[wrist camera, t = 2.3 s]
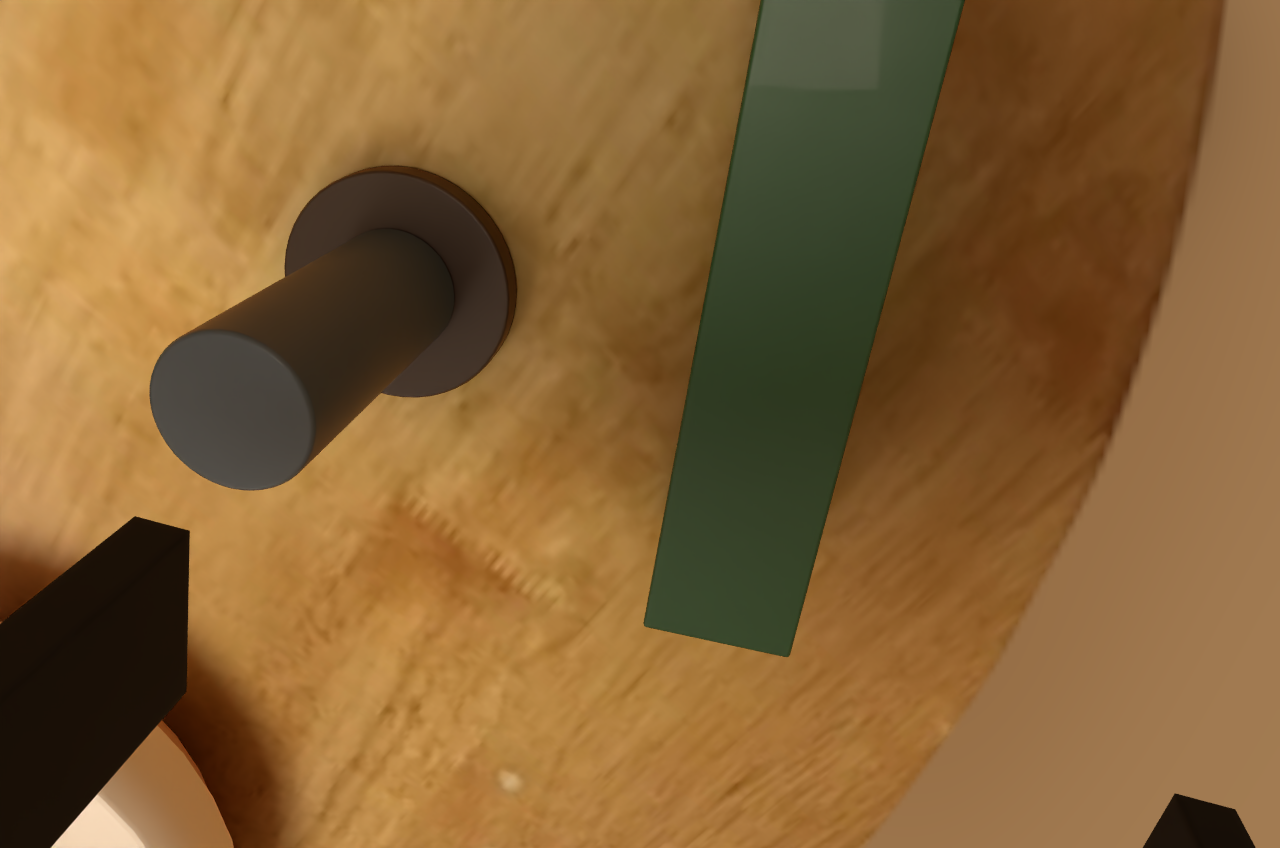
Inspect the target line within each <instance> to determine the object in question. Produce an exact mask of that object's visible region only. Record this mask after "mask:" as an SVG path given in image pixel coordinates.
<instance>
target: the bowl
mask: <svg viewBox="0 0 1280 848" xmlns="http://www.w3.org/2000/svg"><path fill="white" fill-rule="evenodd" d="M1 623H2V621H0V624H1ZM51 848H234V846H233V841H232V838H231V836H230V834H229V832H228V829H227V827H226V825H225V823H224V820H223V818H222V816H221V814H220V811H219V809H218V807H217V805H216V802H215V800H214V798H213V796H212V795H211V793H210V792H209V790H208V788H207V786H206V783H205V781H204V779H203V777H202V774H201V772H200V770H199V769H198V767H197V766H196V764H195V763H194V761H193V760H192V758H191V757H190V755H189V754H188V752H187V751H186V749H185V748H184V746H183V745H182V743H181V742H180V741H179V739H178V738H177V736H176V735H175V734H174V733H173V731H172V730H171V729H170V728H169V727H168V726H167V725H166V724H165V723H164V722H163V721H162V720H161V722H160V723H159V724H158V725H157V726H156V727H155V728H154V730H153V731H152V732H151V733H150V734H149V735H148V737H147V738H146V739H145V740H144V741H143V742H142V743H141V745H140V746H139V747H138V748H137V749H136V750H135V751H134V753H133V754H132V755H131V756H130V757H129V758H128V760H127V761H126V762H125V763H124V764H123V765H122V766H121V768H120V769H119V770H118V771H117V772H116V773H115V775H114V776H113V777H112V778H111V779H110V780H109V781H108V783H107V784H106V785H105V786H104V787H103V788H102V789H101V791H100V792H99V793H98V794H97V795H96V796H95V798H94V799H93V800H92V801H91V802H90V803H89V804H88V806H87V807H86V808H85V809H84V810H83V811H82V812H81V814H80V815H79V816H78V817H77V818H76V819H75V821H74V822H73V823H72V824H71V825H70V826H69V827H68V829H67V830H66V831H65V832H64V833H63V834H62V836H61V837H60V838H59V839H58V840H57V841H56V842H55V844H54V845H53V846H52V847H51Z"/></svg>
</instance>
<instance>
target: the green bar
mask: <svg viewBox="0 0 1280 848" xmlns="http://www.w3.org/2000/svg"><path fill="white" fill-rule="evenodd" d="M964 2H965V0H761V2H760V7H759V12H758V18H757V23H756V28H755V34H754V39H753V44H752V49H751V55H750V60H749V65H748V71H747V76H746V81H745V87H744V92H743V97H742V103H741V108H740V113H739V119H738V124H737V129H736V134H735V140H734V145H733V150H732V156H731V161H730V166H729V172H728V177H727V182H726V188H725V193H724V198H723V204H722V209H721V214H720V219H719V225H718V230H717V235H716V241H715V246H714V251H713V257H712V262H711V267H710V273H709V278H708V283H707V289H706V294H705V299H704V304H703V310H702V315H701V320H700V326H699V331H698V336H697V342H696V347H695V352H694V358H693V363H692V368H691V374H690V379H689V384H688V389H687V395H686V400H685V405H684V411H683V416H682V421H681V427H680V432H679V437H678V443H677V448H676V453H675V459H674V464H673V469H672V474H671V480H670V485H669V490H668V496H667V501H666V506H665V512H664V517H663V522H662V528H661V533H660V538H659V544H658V549H657V554H656V559H655V565H654V570H653V575H652V581H651V586H650V591H649V597H648V602H647V607H646V613H645V618H644V626H645V627H649V628H653V629H658V630H663V631H667V632H672V633H677V634H681V635H686V636H690V637H695V638H700V639H704V640H709V641H714V642H718V643H723V644H728V645H732V646H737V647H742V648H746V649H751V650H755V651H760V652H765V653H769V654H774V655H779V656H783V657H788V656H789V655H790V653H791V649H792V645H793V641H794V638H795V634H796V630H797V626H798V623H799V619H800V615H801V611H802V608H803V604H804V600H805V596H806V593H807V589H808V585H809V582H810V578H811V574H812V570H813V567H814V563H815V559H816V555H817V552H818V548H819V544H820V540H821V537H822V533H823V529H824V525H825V522H826V518H827V514H828V510H829V507H830V503H831V499H832V496H833V492H834V488H835V484H836V481H837V477H838V473H839V469H840V466H841V462H842V458H843V454H844V451H845V447H846V443H847V439H848V436H849V432H850V428H851V424H852V421H853V417H854V413H855V409H856V406H857V402H858V398H859V395H860V391H861V387H862V383H863V380H864V376H865V372H866V368H867V365H868V361H869V357H870V353H871V350H872V346H873V342H874V338H875V335H876V331H877V327H878V323H879V320H880V316H881V312H882V309H883V305H884V301H885V297H886V294H887V290H888V286H889V282H890V279H891V275H892V271H893V267H894V264H895V260H896V256H897V252H898V249H899V245H900V241H901V237H902V234H903V230H904V226H905V223H906V219H907V215H908V211H909V208H910V204H911V200H912V196H913V193H914V189H915V185H916V181H917V178H918V174H919V170H920V166H921V163H922V159H923V155H924V151H925V148H926V144H927V140H928V137H929V133H930V129H931V125H932V122H933V118H934V114H935V110H936V107H937V103H938V99H939V95H940V92H941V88H942V84H943V80H944V77H945V73H946V69H947V65H948V62H949V58H950V54H951V51H952V47H953V43H954V39H955V36H956V32H957V28H958V24H959V21H960V17H961V13H962V9H963V6H964Z"/></svg>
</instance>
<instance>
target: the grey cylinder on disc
mask: <svg viewBox="0 0 1280 848" xmlns="http://www.w3.org/2000/svg"><path fill="white" fill-rule="evenodd" d="M515 306H516V280H515V273H514V268H513V263H512V260H511V257H510V254H509V251H508V248H507V246H506V244H505V242H504V240H503V237H502V235H501V233H500V232H499V230H498V229H497V227H496V225H495V224H494V222H493V221H492V219H491V218H490V217H489V216H488V214H487V213H486V212H485V211H484V210H483V208H482V207H481V206H480V205H479V204H478V203H477V202H476V201H475V200H473V199H472V198H471V197H470V196H469V195H468V194H466V193H465V192H464V191H462V190H461V189H460V188H458V187H457V186H455V185H454V184H452V183H450V182H449V181H447V180H445V179H443V178H441V177H439V176H436V175H434V174H431V173H429V172H426V171H422V170H418V169H415V168H409V167H401V166H381V167H374V168H368V169H365V170H361V171H358V172H355V173H352V174H350V175H348V176H345V177H343V178H341V179H339V180H337V181H335V182H333V183H331V184H329V185H328V186H326V187H325V188H324V189H322V190H321V191H319V192H318V193H317V194H316V195H315V196H314V197H313V198H312V199H311V200H310V201H309V202H308V203H307V205H306V206H305V207H304V209H303V210H302V211H301V213H300V214H299V216H298V218H297V220H296V222H295V223H294V226H293V228H292V231H291V234H290V236H289V240H288V244H287V249H286V256H285V278H283V279H281V280H279V281H278V282H276V283H274V284H272V285H271V286H269V287H267V288H265V289H263V290H262V291H260V292H258V293H256V294H255V295H253V296H251V297H249V298H248V299H246V300H244V301H242V302H241V303H239V304H237V305H235V306H234V307H232V308H230V309H228V310H226V311H225V312H223V313H221V314H219V315H218V316H216V317H214V318H212V319H211V320H209V321H207V322H205V323H204V324H202V325H200V326H198V327H197V328H195V329H193V330H191V331H190V332H188V333H186V334H184V335H182V336H181V337H179V338H178V339H176V340H175V341H173V342H172V343H171V344H170V345H169V346H168V347H167V348H166V349H165V350H164V351H163V353H162V354H161V355H160V357H159V359H158V360H157V362H156V364H155V367H154V370H153V373H152V376H151V382H150V404H151V409H152V413H153V417H154V420H155V422H156V425H157V427H158V429H159V431H160V433H161V435H162V437H163V439H164V440H165V442H166V443H167V445H168V446H169V447H170V449H171V450H172V451H173V452H174V454H175V455H176V456H177V457H178V458H179V459H180V460H181V461H182V462H183V463H184V464H186V465H187V466H188V467H189V468H190V469H192V470H193V471H195V472H196V473H198V474H199V475H200V476H202V477H204V478H206V479H208V480H210V481H212V482H214V483H217V484H219V485H222V486H225V487H229V488H233V489H239V490H263V489H268V488H272V487H276V486H278V485H281V484H283V483H285V482H287V481H289V480H290V479H292V478H293V477H294V476H296V475H297V474H298V473H299V472H300V471H301V470H302V469H303V468H304V467H305V466H306V465H307V464H308V463H309V462H310V461H311V460H312V459H314V458H315V457H316V456H317V455H318V454H319V453H320V452H321V451H322V450H323V449H324V448H325V447H326V446H327V445H328V444H329V443H330V442H331V441H332V440H333V439H334V438H335V437H336V436H337V435H338V434H339V433H340V432H341V431H342V430H343V429H344V428H345V427H346V426H347V425H348V424H349V423H350V422H351V421H352V420H353V419H355V418H356V417H357V416H358V415H359V414H360V413H361V412H362V411H363V410H364V409H365V408H366V407H367V406H368V405H369V404H370V403H371V402H372V401H373V400H374V399H375V398H376V397H377V396H378V395H379V394H380V393H384V394H387V395H393V396H399V397H426V396H433V395H437V394H441V393H445V392H447V391H450V390H453V389H455V388H457V387H459V386H461V385H463V384H464V383H466V382H468V381H469V380H471V379H472V378H473V377H474V376H476V375H477V374H478V373H479V372H480V371H481V370H482V369H483V368H484V367H485V366H486V365H487V364H488V363H489V362H490V360H491V359H492V358H493V357H494V356H495V354H496V353H497V351H498V350H499V349H500V347H501V346H502V344H503V342H504V340H505V338H506V336H507V334H508V332H509V329H510V327H511V324H512V321H513V316H514V311H515Z"/></svg>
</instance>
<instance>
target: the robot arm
mask: <svg viewBox="0 0 1280 848" xmlns="http://www.w3.org/2000/svg"><path fill="white" fill-rule="evenodd" d="M189 538H190V531H188V530H184V529H181V528H177V527H173V526H169V525H166V524H162V523H158V522H154V521H151V520H147V519H143V518H139V517H136V516H135V517H133V518H132V519H131V520H130V521H128V522H127V523H126V524H125V525H123V526H122V527H121V528H120V529H118V530H117V531H116V532H115V533H113V534H112V535H111V536H110V537H108V538H107V539H106V540H105V541H103V542H102V543H101V544H100V545H98V546H97V547H96V548H95V549H93V550H92V551H91V552H90V553H88V554H87V555H86V556H85V557H83V558H82V559H81V560H80V561H78V562H77V563H76V564H75V565H73V566H72V567H71V568H70V569H68V570H67V571H66V572H64V573H63V574H62V575H61V576H59V577H58V578H57V579H56V580H54V581H53V582H52V583H51V584H49V585H48V586H47V587H46V588H44V589H43V590H42V591H41V592H39V593H38V594H37V595H36V596H34V597H33V598H32V599H31V600H29V601H28V602H27V603H26V604H24V605H23V606H22V607H21V608H19V609H18V610H17V611H16V612H14V613H13V614H12V615H11V616H9V617H8V618H7V619H6V620H4V621H3V622H2V623H1V624H0V848H51V847H52V846H53V845H54V844H55V842H56V841H57V840H58V839H59V838H60V837H61V836H62V834H63V833H64V832H65V831H66V830H67V829H68V827H69V826H70V825H71V824H72V823H73V822H74V821H75V819H76V818H77V817H78V816H79V815H80V814H81V812H82V811H83V810H84V809H85V808H86V807H87V806H88V804H89V803H90V802H91V801H92V800H93V799H94V798H95V796H96V795H97V794H98V793H99V792H100V791H101V789H102V788H103V787H104V786H105V785H106V784H107V783H108V781H109V780H110V779H111V778H112V777H113V776H114V775H115V773H116V772H117V771H118V770H119V769H120V768H121V766H122V765H123V764H124V763H125V762H126V761H127V760H128V758H129V757H130V756H131V755H132V754H133V753H134V751H135V750H136V749H137V748H138V747H139V746H140V745H141V743H142V742H143V741H144V740H145V739H146V738H147V737H148V735H149V734H150V733H151V732H152V731H153V730H154V728H155V727H156V726H157V725H158V724H159V723H160V722H161V720H162V719H163V718H164V717H165V716H166V715H167V714H168V712H169V711H170V710H171V709H172V708H173V707H174V705H175V704H176V703H177V702H178V701H179V700H180V699H181V697H182V696H183V695H184V694H185V693H186V686H187V637H188V587H189ZM1143 848H1255V846H1254V844H1253V842H1252V840H1251V839H1250V836H1249V834H1248V833H1247V831H1246V829H1245V827H1244V825H1243V823H1242V821H1241V819H1240V818H1239V816H1238V814H1237V812H1236V810H1235V809H1232V808H1227V807H1224V806H1220V805H1217V804H1212V803H1208V802H1205V801H1201V800H1198V799H1194V798H1190V797H1186V796H1183V795H1179V794H1174V796H1173V797H1172V799H1171V801H1170V803H1169V805H1168V806H1167V808H1166V809H1165V811H1164V813H1163V815H1162V816H1161V818H1160V819H1159V821H1158V823H1157V825H1156V826H1155V828H1154V830H1153V831H1152V833H1151V835H1150V837H1149V838H1148V840H1147V841H1146V843H1145V845H1144V847H1143Z"/></svg>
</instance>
